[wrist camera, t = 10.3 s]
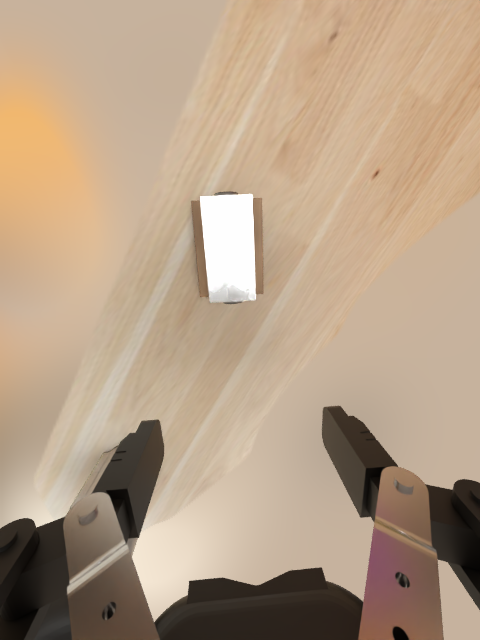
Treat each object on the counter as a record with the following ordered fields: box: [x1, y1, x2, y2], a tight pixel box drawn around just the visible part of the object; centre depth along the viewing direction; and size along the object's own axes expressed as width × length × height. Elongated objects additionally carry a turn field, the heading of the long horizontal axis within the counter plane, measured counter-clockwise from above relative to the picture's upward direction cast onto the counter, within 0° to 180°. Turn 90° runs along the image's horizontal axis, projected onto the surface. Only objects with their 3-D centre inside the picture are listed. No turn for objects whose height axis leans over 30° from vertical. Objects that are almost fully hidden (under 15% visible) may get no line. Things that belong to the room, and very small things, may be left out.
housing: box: [200, 192, 256, 304], centre depth 26 cm, size 11×5×6 cm, turn 3°
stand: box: [191, 198, 263, 297], centre depth 31 cm, size 8×11×4 cm
